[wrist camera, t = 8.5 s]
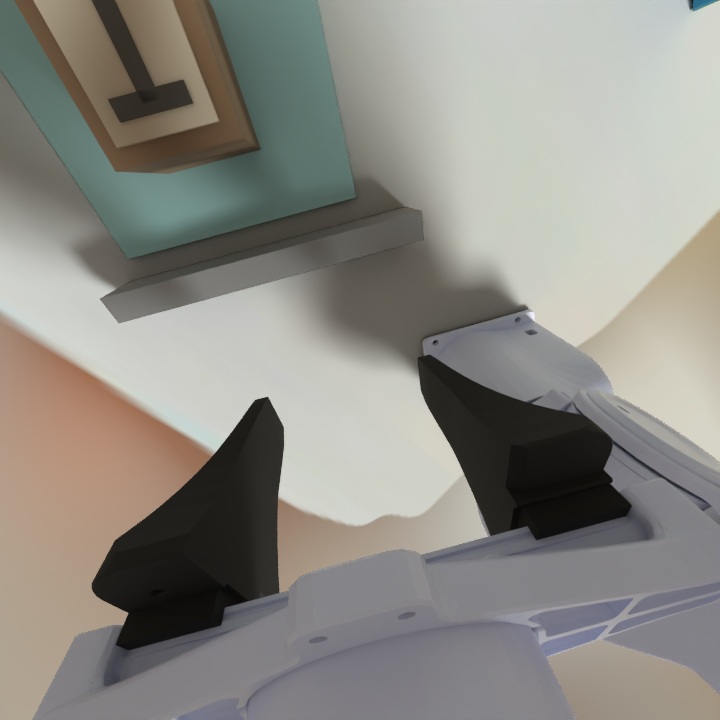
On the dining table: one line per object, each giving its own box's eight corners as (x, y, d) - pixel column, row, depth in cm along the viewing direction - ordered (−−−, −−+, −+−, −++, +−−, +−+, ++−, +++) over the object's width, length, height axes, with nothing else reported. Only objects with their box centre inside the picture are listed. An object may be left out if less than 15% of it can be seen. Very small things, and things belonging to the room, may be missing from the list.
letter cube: (213, 8, 12) (159, -90, 8) (260, 149, 15) (241, 136, 11) (100, 37, 12) (-20, -45, 8) (168, 173, 15) (110, 171, 10)
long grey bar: (405, 206, 18) (421, 211, 15) (408, 232, 19) (424, 239, 16) (129, 282, 18) (99, 299, 15) (144, 304, 19) (119, 323, 16)
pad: (282, -166, 11) (281, -177, 10) (355, 197, 17) (356, 197, 17) (-87, -71, 10) (-99, -79, 10) (131, 257, 17) (127, 259, 17)
